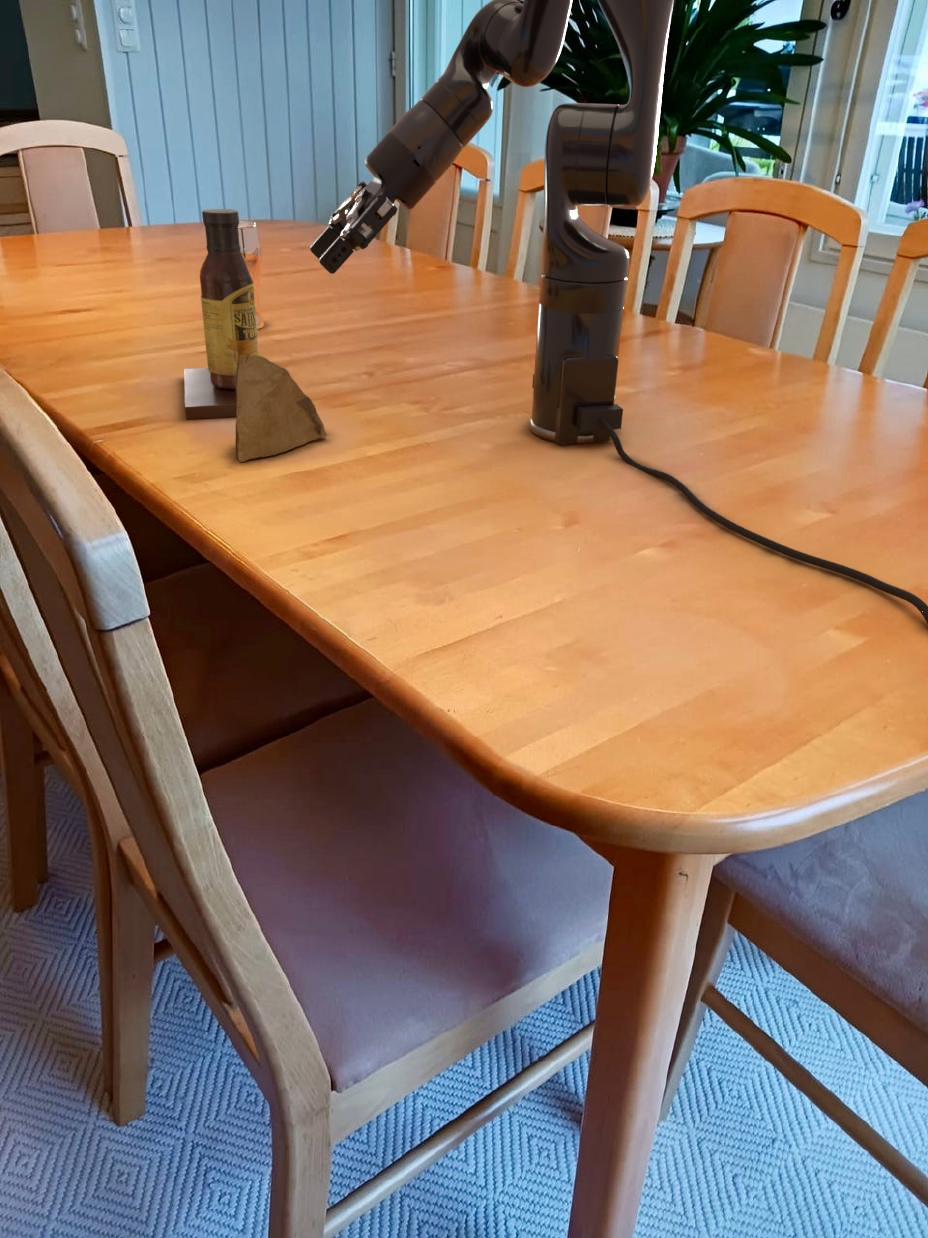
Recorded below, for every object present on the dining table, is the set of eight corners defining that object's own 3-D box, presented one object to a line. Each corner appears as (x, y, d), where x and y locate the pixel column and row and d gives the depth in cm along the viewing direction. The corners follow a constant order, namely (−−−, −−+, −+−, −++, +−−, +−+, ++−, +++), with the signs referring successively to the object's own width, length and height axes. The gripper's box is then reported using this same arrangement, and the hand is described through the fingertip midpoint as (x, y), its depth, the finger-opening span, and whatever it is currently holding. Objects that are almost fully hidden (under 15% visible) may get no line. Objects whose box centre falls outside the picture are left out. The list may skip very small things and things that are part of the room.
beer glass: (212, 327, 146) (200, 224, 139) (241, 318, 152) (231, 218, 144) (247, 333, 143) (237, 228, 136) (275, 324, 149) (267, 222, 141)
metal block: (290, 413, 112) (289, 401, 111) (186, 419, 109) (184, 407, 108) (279, 375, 125) (278, 364, 124) (185, 380, 122) (184, 368, 121)
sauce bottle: (249, 393, 113) (232, 215, 103) (201, 389, 114) (179, 212, 104) (270, 378, 119) (255, 208, 108) (223, 374, 120) (205, 205, 110)
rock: (325, 404, 107) (235, 395, 105) (333, 357, 100) (237, 346, 97) (324, 487, 103) (231, 479, 101) (333, 444, 96) (232, 435, 93)
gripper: (379, 126, 113) (289, 229, 116) (404, 132, 101) (303, 247, 104) (422, 175, 116) (334, 274, 119) (451, 186, 105) (352, 296, 108)
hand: (320, 261), depth 112 cm, fingers open, 8 cm apart
